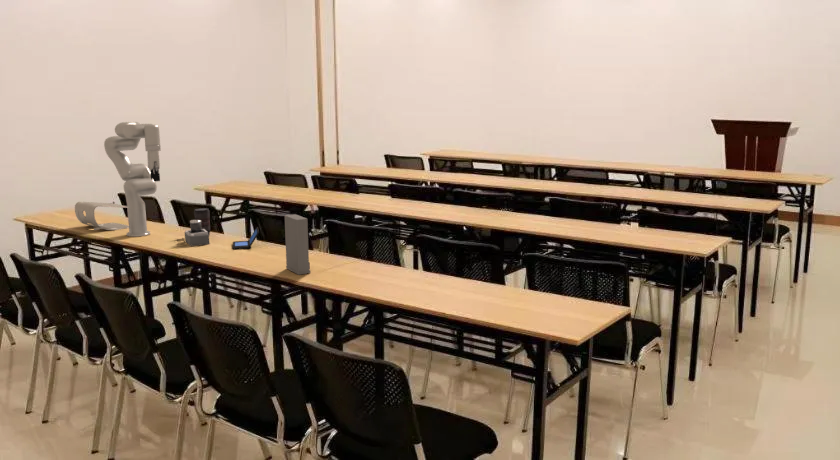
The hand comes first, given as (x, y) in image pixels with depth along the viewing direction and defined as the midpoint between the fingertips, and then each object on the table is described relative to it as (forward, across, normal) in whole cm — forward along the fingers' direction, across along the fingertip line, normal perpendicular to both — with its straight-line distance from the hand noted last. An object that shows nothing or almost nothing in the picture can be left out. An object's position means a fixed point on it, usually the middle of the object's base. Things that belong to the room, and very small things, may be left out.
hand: (155, 180), depth 384 cm
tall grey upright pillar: (+34, +99, +45) cm, 114 cm away
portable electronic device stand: (+34, -57, -22) cm, 70 cm away
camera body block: (+33, +14, +17) cm, 40 cm away
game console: (+34, +35, +38) cm, 62 cm away
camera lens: (+34, -4, +24) cm, 41 cm away
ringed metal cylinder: (+28, +14, +17) cm, 36 cm away
